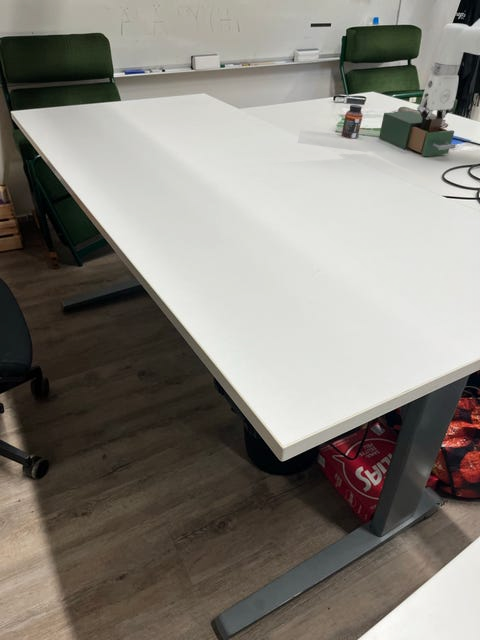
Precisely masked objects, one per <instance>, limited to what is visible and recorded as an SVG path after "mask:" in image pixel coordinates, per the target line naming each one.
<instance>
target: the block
mask: <svg viewBox="0 0 480 640" xmlns="http://www.w3.org/2000/svg"><path fill="white" fill-rule="evenodd" d="M429 120H430V124H429V127H428V131H427V132H439V130H440V126H442V124H441V123H443V120H442V118H439V117H437V115H432V114H431V116H430V118H429Z"/></svg>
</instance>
